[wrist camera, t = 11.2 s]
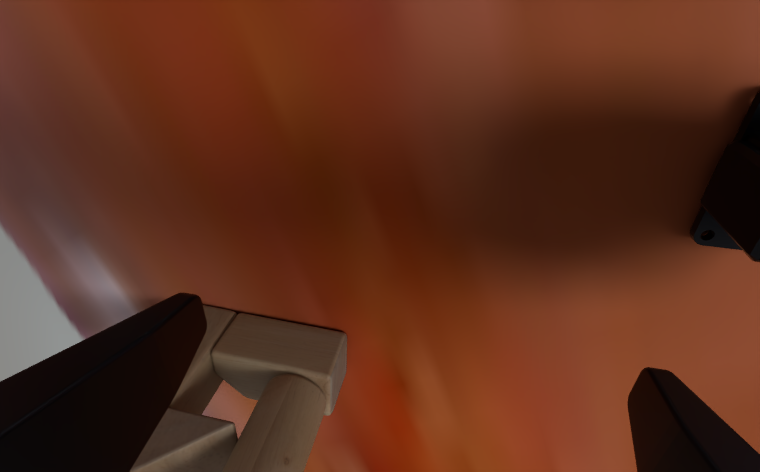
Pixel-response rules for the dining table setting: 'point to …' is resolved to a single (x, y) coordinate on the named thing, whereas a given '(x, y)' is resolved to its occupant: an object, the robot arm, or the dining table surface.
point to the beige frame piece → (255, 381)
